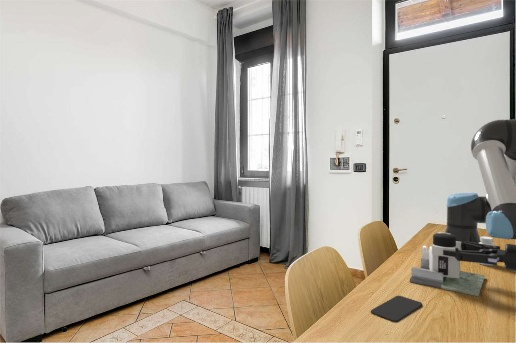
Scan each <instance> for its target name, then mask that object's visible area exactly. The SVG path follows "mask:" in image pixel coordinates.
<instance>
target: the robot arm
mask: <svg viewBox="0 0 516 343" xmlns="http://www.w3.org/2000/svg"><path fill="white" fill-rule="evenodd" d="M470 150H471V155H472V157H473V158H474V159H475V160H476V161H477V163H478V167H479V170H480V174H481V178H482V180H483V185H484V187H485V191H486V196H479V195H478V193H476V192H461V193H454V194H451V195H449V196H448V197H447V200H446V201H447V202H446V227H445V231H444V233H449V234H452V235H454V236H455V237H456V248H455V249H454V248H447V247H440V246H433V244H432V245H431V246H432V254H433V255H439V256H445V257H452V258H456V259H457V261H460V262H465V263H466V262H467V263H476V264H479V263H485V264H491V265H493V266H498V263H504V269H505V270H507V271H510V272H511V271H512V272H516V244H513V243H506V244H505V247H504V249H501V246H499V245H495V246H492V245H486V244H480V242H481V241H480V237H481V236H480V233H479V231H478V224H485V230H486V233H487V234H488V236H489V237H491V238H493V239H494V238H496V239H502V240H516V118H512V119H495V120H492V121H489V122H487V123H485V124H483V126H481V127H480V128H479V129H478V130H477V131H476V132H475V134H474V135H473V138H472V140H471V144H470Z"/></svg>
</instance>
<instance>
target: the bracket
mask: <svg viewBox="0 0 516 343" xmlns="http://www.w3.org/2000/svg"><path fill="white" fill-rule="evenodd" d="M421 249H422V250H421V258H427V259H429V248H428V246H427V245H423V246H422V248H421Z"/></svg>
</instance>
